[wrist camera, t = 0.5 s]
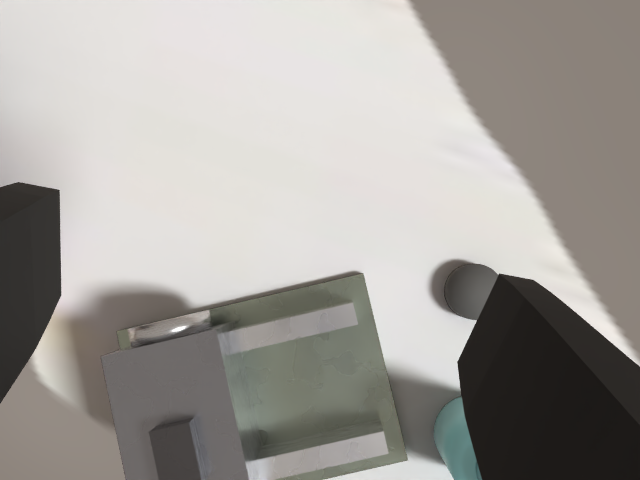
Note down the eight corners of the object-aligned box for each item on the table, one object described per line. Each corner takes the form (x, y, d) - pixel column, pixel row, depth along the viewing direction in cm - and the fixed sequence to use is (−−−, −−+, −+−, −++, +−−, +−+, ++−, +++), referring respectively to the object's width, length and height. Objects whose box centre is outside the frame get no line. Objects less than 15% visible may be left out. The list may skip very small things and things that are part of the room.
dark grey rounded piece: (503, 311, 34) (509, 313, 32) (450, 323, 34) (455, 325, 32) (490, 259, 34) (496, 258, 33) (438, 270, 34) (442, 270, 33)
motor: (406, 457, 33) (422, 502, 27) (157, 513, 33) (113, 572, 27) (362, 273, 34) (368, 273, 27) (119, 330, 34) (67, 343, 28)
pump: (518, 462, 33) (564, 511, 26) (444, 479, 33) (470, 532, 26) (499, 387, 33) (540, 417, 26) (425, 404, 33) (447, 438, 26)
